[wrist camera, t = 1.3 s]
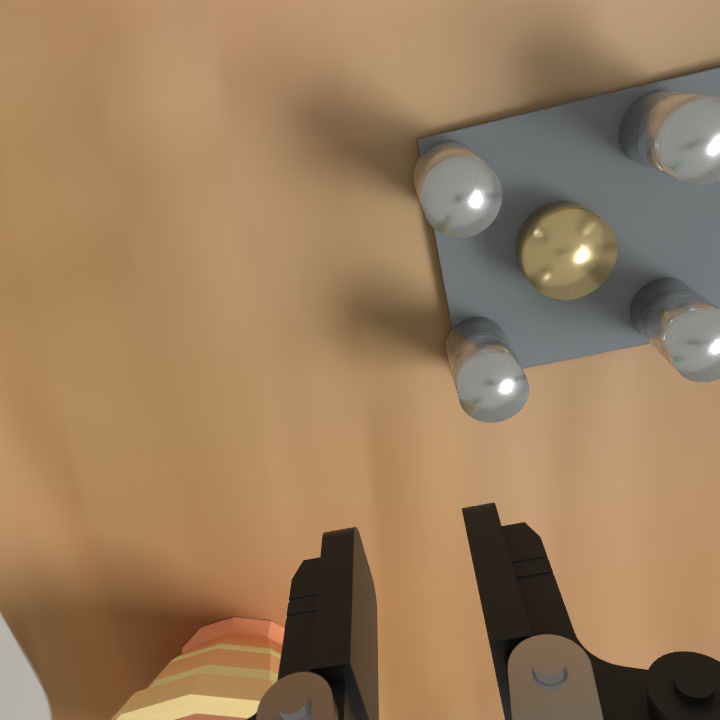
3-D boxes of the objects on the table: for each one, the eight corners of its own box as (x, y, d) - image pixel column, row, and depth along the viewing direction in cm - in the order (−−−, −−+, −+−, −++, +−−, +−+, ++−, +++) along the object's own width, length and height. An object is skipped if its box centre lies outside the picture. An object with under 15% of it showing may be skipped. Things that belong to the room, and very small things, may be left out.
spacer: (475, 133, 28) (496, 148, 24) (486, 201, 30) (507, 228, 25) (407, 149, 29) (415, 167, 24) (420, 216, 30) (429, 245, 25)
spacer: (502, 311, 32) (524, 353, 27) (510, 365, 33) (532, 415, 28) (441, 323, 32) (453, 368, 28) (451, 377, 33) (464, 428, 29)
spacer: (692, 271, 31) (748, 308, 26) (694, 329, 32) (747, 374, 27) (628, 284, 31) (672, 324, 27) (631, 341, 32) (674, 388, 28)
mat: (1031, -8, 26) (1040, -9, 26) (982, 273, 31) (989, 276, 31) (417, 138, 29) (417, 140, 28) (461, 377, 34) (462, 380, 33)
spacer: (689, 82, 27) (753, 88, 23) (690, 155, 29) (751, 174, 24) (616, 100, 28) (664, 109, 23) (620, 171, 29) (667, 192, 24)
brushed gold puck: (599, 192, 29) (614, 201, 27) (605, 275, 31) (620, 289, 29) (510, 211, 30) (519, 222, 28) (521, 293, 31) (530, 308, 30)
